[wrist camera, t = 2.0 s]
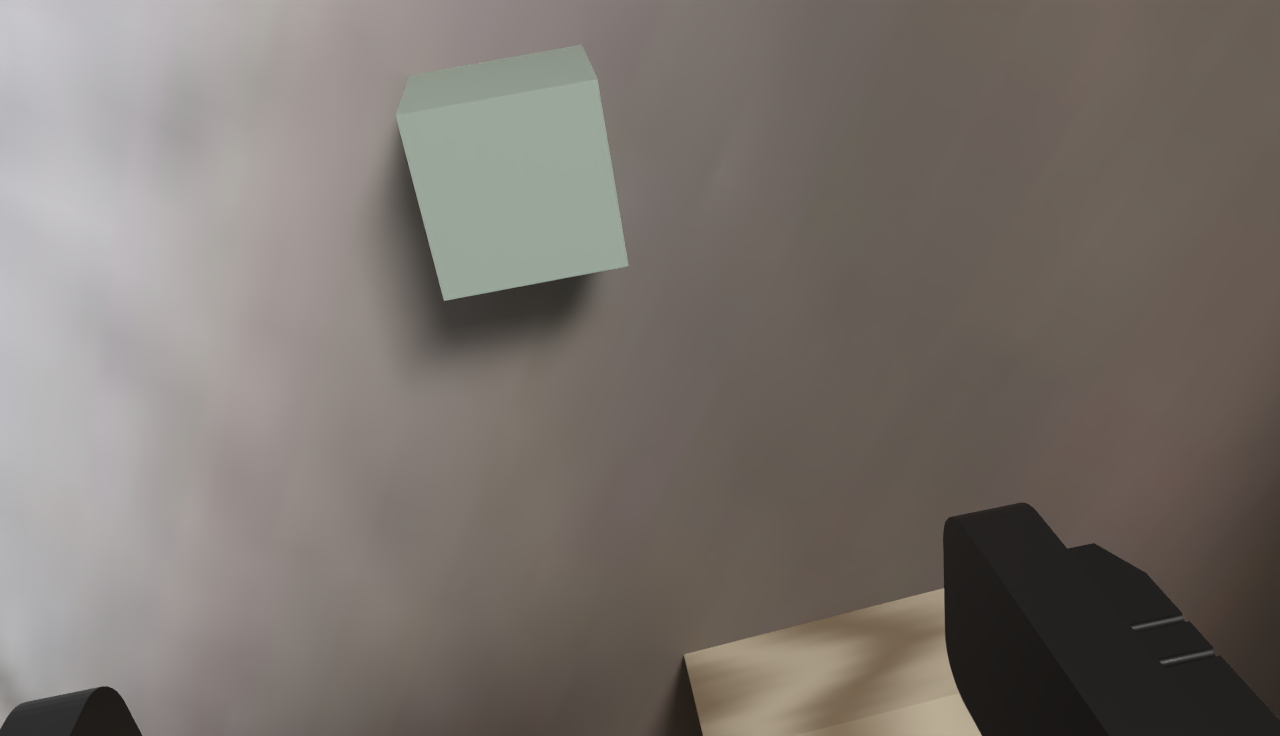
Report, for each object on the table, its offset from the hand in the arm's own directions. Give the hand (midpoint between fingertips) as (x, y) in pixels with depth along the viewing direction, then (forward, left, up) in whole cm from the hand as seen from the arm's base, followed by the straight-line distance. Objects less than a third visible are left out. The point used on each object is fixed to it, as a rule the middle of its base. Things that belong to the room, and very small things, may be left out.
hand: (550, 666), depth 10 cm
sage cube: (0, 0, -20) cm, 20 cm away
